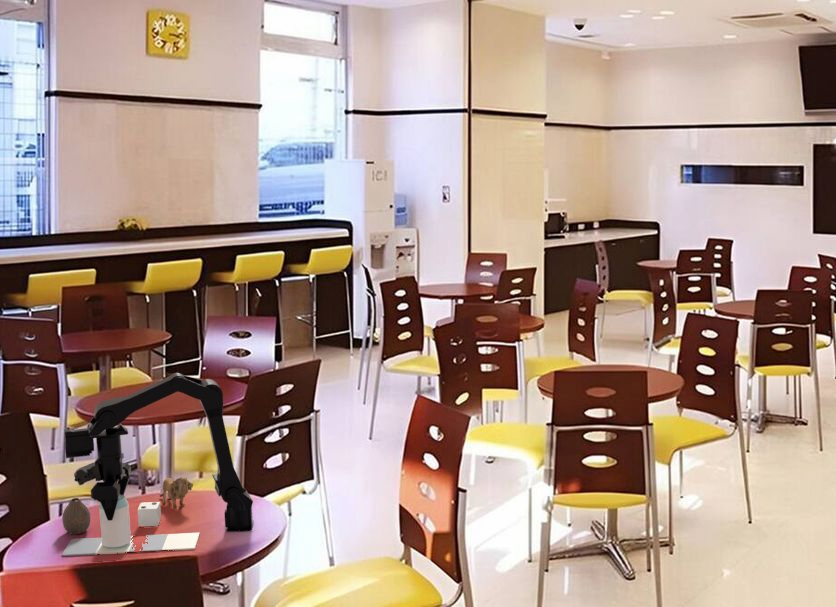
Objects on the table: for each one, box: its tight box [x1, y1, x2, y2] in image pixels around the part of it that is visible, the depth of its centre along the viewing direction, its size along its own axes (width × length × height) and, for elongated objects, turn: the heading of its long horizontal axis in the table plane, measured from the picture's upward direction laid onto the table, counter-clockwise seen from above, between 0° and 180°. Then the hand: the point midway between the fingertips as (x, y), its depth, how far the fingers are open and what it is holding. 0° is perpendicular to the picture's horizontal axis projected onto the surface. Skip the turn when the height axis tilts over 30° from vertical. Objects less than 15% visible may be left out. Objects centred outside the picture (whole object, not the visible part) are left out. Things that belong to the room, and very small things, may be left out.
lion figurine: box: [159, 476, 194, 510], centre depth 285 cm, size 15×5×9 cm, turn 46°
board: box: [61, 532, 201, 557], centre depth 258 cm, size 32×10×1 cm, turn 95°
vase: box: [61, 497, 91, 536], centre depth 267 cm, size 7×7×9 cm
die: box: [137, 501, 162, 527], centre depth 272 cm, size 5×5×5 cm
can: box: [98, 494, 132, 548], centre depth 257 cm, size 7×7×12 cm
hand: (114, 513), depth 256 cm, fingers open, 9 cm apart
